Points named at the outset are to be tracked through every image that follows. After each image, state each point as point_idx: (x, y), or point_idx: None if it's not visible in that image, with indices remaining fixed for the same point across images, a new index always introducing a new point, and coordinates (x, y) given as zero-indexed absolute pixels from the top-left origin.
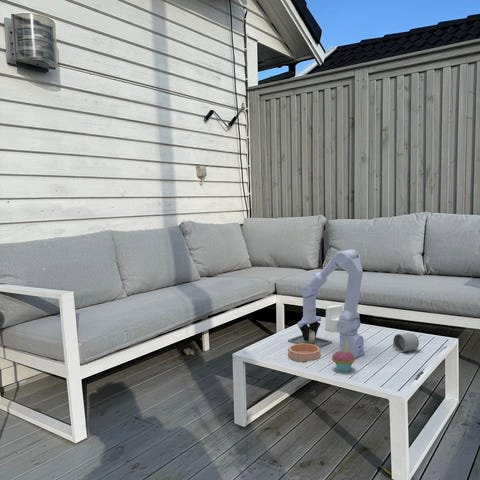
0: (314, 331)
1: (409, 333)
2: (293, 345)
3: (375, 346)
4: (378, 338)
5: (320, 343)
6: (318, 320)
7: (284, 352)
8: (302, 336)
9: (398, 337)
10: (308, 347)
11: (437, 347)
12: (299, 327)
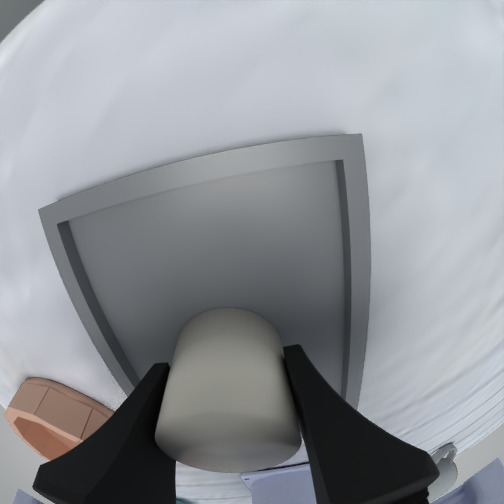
0: (281, 461)
1: (442, 494)
2: (25, 417)
3: (421, 445)
4: (501, 383)
5: None
6: (456, 494)
7: (6, 345)
8: (294, 163)
9: (437, 482)
10: None
11: (463, 450)
12: (51, 468)
